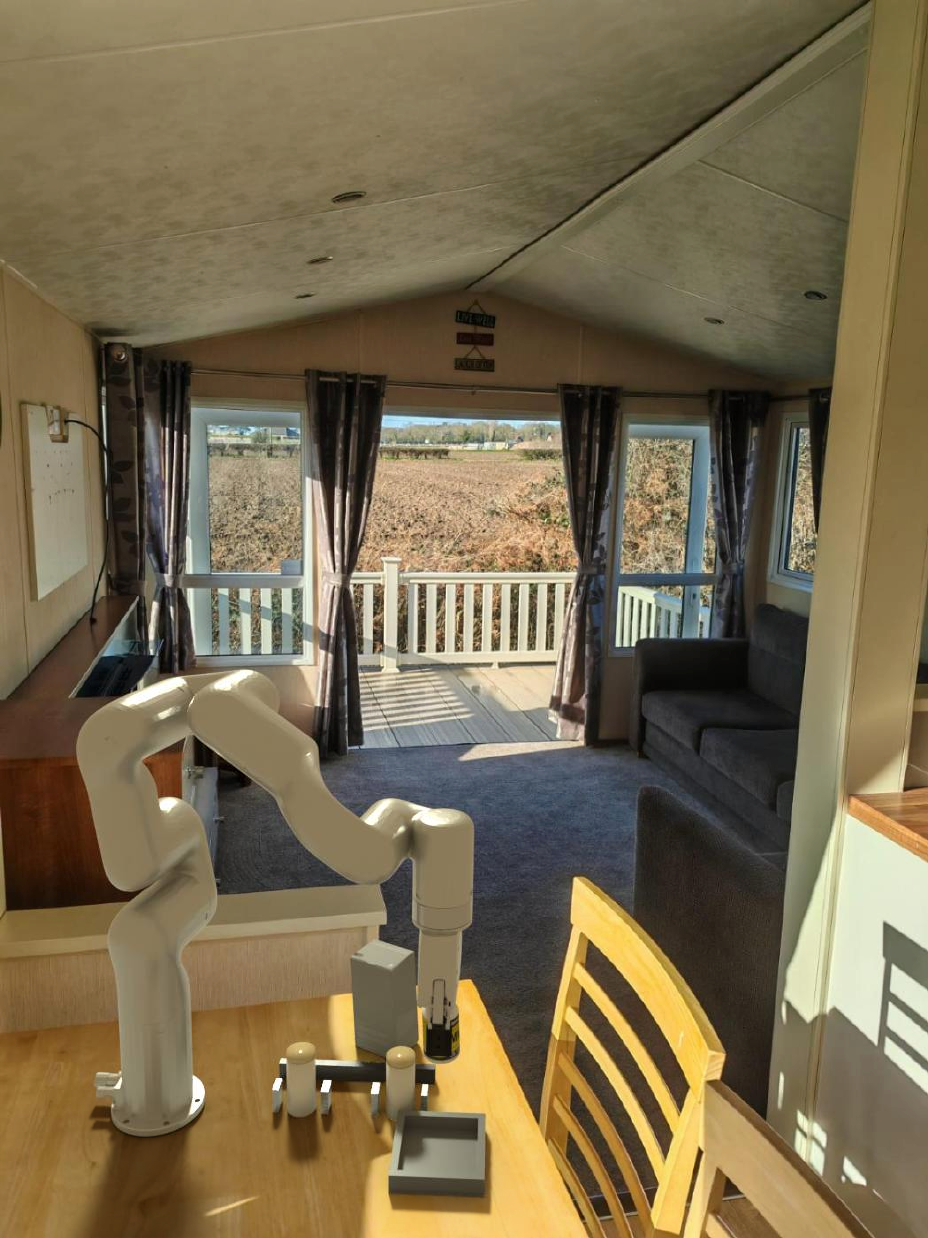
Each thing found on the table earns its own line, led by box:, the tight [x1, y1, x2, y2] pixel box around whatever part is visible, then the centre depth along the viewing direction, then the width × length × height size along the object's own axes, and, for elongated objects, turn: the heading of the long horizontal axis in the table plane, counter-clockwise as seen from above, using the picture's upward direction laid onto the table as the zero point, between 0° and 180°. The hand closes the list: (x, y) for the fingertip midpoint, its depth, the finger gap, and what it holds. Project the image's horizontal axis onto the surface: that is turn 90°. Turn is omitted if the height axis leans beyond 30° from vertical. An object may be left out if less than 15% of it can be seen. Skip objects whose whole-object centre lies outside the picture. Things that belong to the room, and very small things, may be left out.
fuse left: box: [285, 1041, 317, 1118], centre depth 133 cm, size 4×4×9 cm
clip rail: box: [272, 1057, 437, 1117], centre depth 136 cm, size 23×8×4 cm, turn 88°
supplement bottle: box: [421, 998, 461, 1065], centre depth 121 cm, size 5×5×8 cm
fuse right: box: [385, 1046, 416, 1122], centre depth 132 cm, size 4×4×9 cm
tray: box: [387, 1110, 487, 1198], centre depth 124 cm, size 12×12×2 cm
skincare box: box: [349, 938, 420, 1059], centre depth 146 cm, size 8×7×16 cm
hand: (440, 1040), depth 121 cm, fingers closed on supplement bottle, 4 cm apart
